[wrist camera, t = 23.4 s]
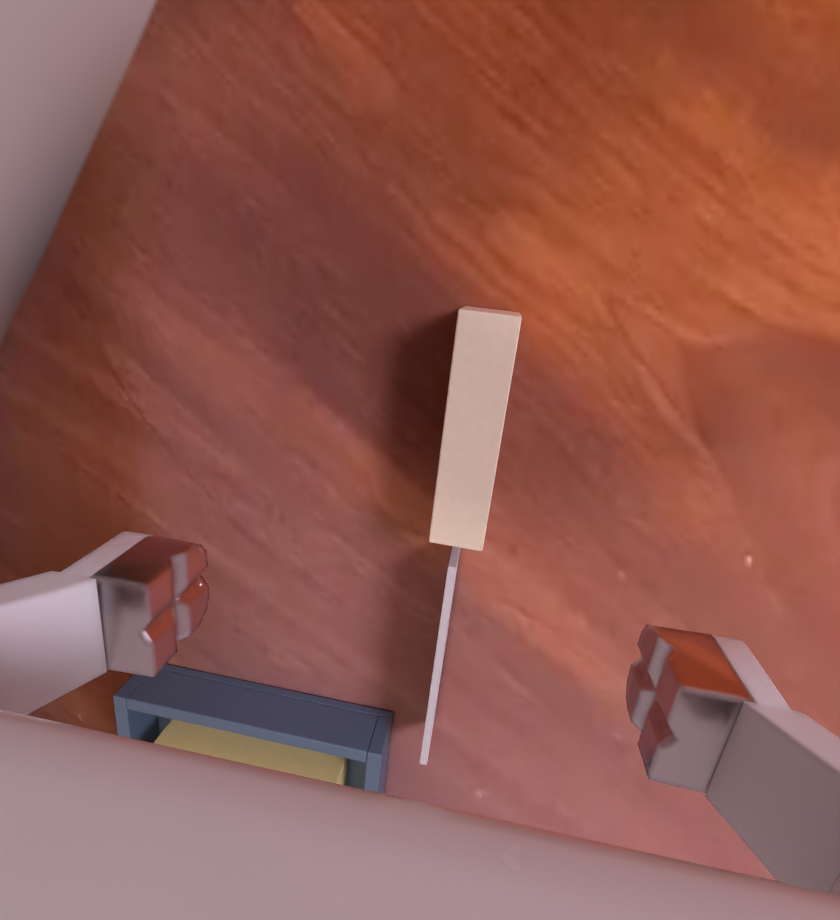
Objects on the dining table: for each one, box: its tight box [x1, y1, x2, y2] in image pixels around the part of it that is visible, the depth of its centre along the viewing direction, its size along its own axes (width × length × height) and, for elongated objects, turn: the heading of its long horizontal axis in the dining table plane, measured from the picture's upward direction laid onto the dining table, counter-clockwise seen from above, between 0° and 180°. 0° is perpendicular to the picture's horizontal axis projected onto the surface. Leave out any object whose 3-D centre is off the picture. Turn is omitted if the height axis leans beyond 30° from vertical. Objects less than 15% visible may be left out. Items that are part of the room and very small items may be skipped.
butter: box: [154, 719, 348, 786], centre depth 30 cm, size 11×5×4 cm, turn 84°
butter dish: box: [113, 664, 393, 794], centre depth 31 cm, size 16×11×3 cm
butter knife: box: [419, 306, 522, 765], centre depth 24 cm, size 23×2×3 cm, turn 174°
